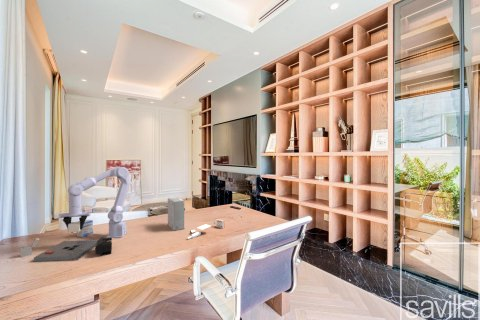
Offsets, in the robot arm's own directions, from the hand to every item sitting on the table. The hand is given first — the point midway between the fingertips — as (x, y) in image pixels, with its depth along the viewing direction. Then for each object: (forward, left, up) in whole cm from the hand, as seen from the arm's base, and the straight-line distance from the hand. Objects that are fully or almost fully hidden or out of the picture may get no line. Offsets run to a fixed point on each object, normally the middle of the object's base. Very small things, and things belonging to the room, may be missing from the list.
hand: (75, 229), depth 123 cm
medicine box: (+5, -17, -9) cm, 20 cm away
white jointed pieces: (-71, -15, -10) cm, 73 cm away
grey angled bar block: (+16, +10, -9) cm, 21 cm away
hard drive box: (-50, -28, -9) cm, 58 cm away
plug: (0, 0, -2) cm, 2 cm away
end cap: (-20, +10, -9) cm, 25 cm away
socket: (-2, +8, -9) cm, 13 cm away
